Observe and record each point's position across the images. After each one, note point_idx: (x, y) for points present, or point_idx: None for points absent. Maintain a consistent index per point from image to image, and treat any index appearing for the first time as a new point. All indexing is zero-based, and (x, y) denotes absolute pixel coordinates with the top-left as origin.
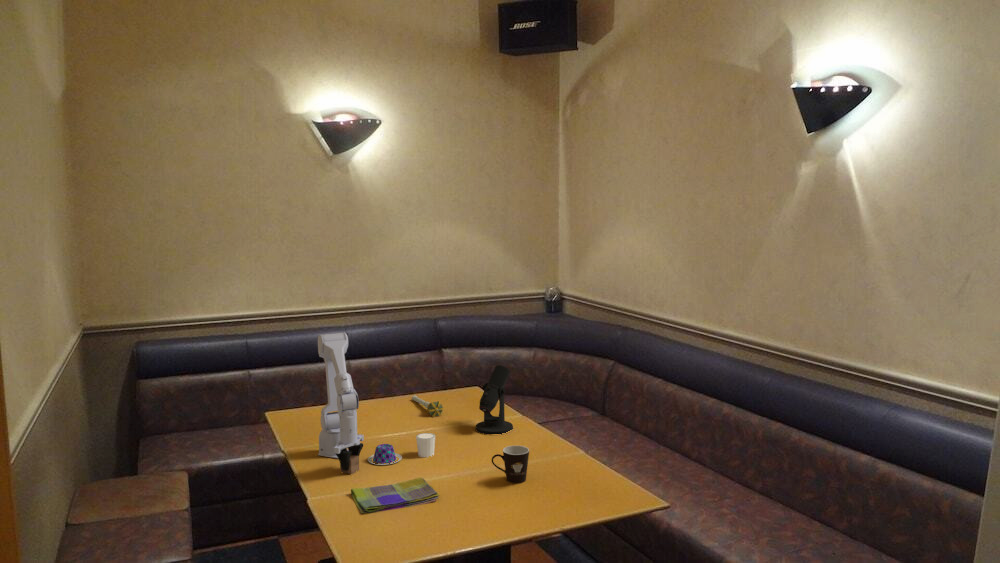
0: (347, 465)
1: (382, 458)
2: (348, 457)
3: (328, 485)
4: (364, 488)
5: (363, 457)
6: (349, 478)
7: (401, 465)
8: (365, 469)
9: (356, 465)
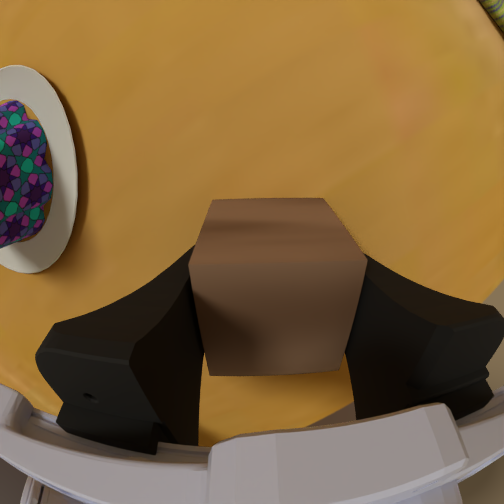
0: (370, 257)
1: (14, 145)
2: (422, 295)
3: (482, 234)
4: (500, 9)
5: (54, 300)
6: (387, 173)
7: (28, 18)
8: (176, 163)
9: (250, 218)
